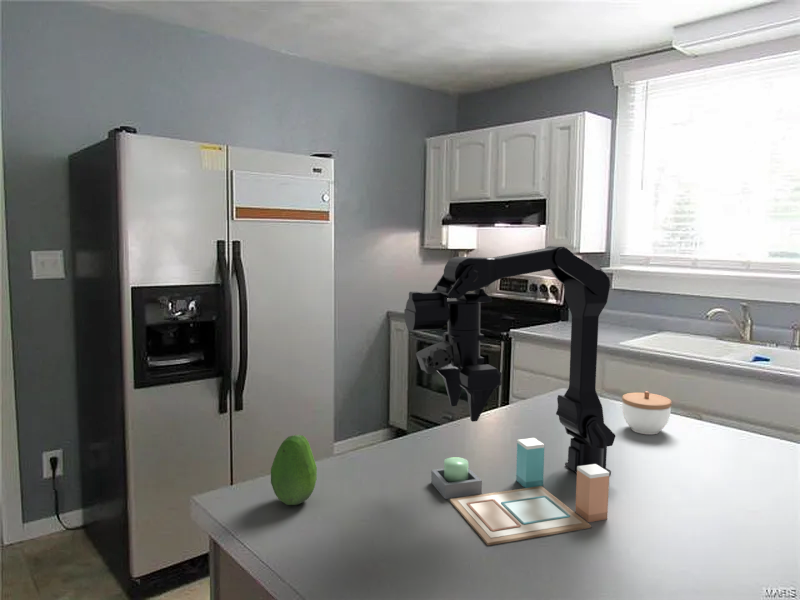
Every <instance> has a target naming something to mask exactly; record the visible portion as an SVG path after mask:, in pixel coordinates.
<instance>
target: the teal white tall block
mask: <svg viewBox="0 0 800 600" xmlns="http://www.w3.org/2000/svg"><path fill="white" fill-rule="evenodd" d="M516 442H517V443H516V469H515V470H516V475H515V476H516V477H515V478H516V479H515V481H516V482H517V483H518V484H520V485H521V486H522V487H523V488H530V487H537V486H542V487H543V486H544V474H545V473H544V472H545V470H544V469H545V467H544V466H545V444H544V443H543V442H542V441H540V440H538V439H537V438H536V437H529V438H521V439H517V440H516Z"/></svg>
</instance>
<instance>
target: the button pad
mask: <svg viewBox="0 0 800 600" xmlns="http://www.w3.org/2000/svg"><path fill="white" fill-rule="evenodd" d="M430 472H431V476H430V477H431V480H430V483H431V484H432V485H433V486H434V488H435V489H436V490H437V491H438V493H439V494H440V495H441V496H442V497H443V498H444V500H447V499H448V500H450V499H453V498H460V497H467V496H474V495H481V494H483V493H482V488H483V486H482V485H483V480H482V479H481V478H480V477H479V476H478V475H477V474H476V473H475V472H474V471H473V470H471V469H470V467H468V480H466V481H459V482H449V481H447V480H445V479H444V467H442V468H435V469H431V471H430Z"/></svg>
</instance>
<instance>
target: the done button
mask: <svg viewBox="0 0 800 600" xmlns="http://www.w3.org/2000/svg"><path fill="white" fill-rule="evenodd" d="M443 461H444V462H443V468H444V479H445V480H447V481H449V482H448V483H451V482H459V481H466V480H468V468H469V460H467V459H466V458H465V457H464V458H463V457H458V456H457V457H453V456H452V457H451V456H450V457H448V458H445V459H444V460H443Z"/></svg>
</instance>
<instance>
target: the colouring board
mask: <svg viewBox="0 0 800 600" xmlns="http://www.w3.org/2000/svg"><path fill="white" fill-rule="evenodd" d="M449 502H450V503H451V504H452V505H453V507H454V508H455V509H456V510H457V511H458V512H459V514H460V515H461V516H462V517H463V518H464V519H465V520H466V522H467V523H468V524H469V525H470V527H471V528H472V529H473V530H474V531H475V532H476V534H477V535H478V536H479V537H480V538H481V540H482V541H483V542H484V543H485V544H486V546H493V545H497V544H498V545H499V544H503V543H510V542H515V541H521V540H528V539H533V538H534V539H535V538H538V537H545V536H551V535H556V534H563V533H568V532H573V531H580V530H586V529H591V528H592V525H591V524H590V522H587V521H586V520H585V519H584V518H582V517H581V516H580V515H578V514H577V513H576V512H575V511H574V510H572V509H571V508H570V507H568V505H566V504H565V503H564V502H562V501H561V500H560V499H559V498H557V497H556V496H554V495H553V494H552V493H551V492H550V491H549V490H547V489H546V488H545V487H543V486H537V487H530V488H524V487H523V488H519V489H518V488H517V489H510V490H509V489H508V490H503V491H495V492H489V493H482V494H477V495H470V496H463V497H456V498H449Z"/></svg>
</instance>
